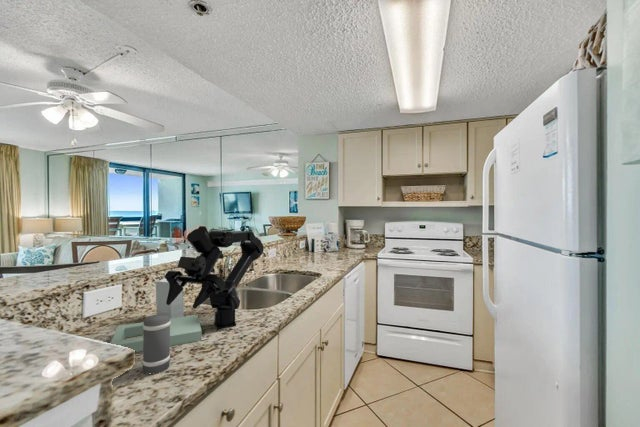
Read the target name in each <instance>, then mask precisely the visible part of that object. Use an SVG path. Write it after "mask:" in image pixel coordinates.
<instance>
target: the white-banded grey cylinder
mask: <svg viewBox="0 0 640 427" xmlns="http://www.w3.org/2000/svg"><path fill="white" fill-rule="evenodd" d="M143 322H144V323H143V329H144V333H143V335H142V337H143V351H142V353H143V354H142V355H143V356H142V372H144V373H143V374H145V373H151V374H150V375H154V374H153V373H157V374H160V373H163V372H165V371H167V370H168V369H169V368H170V363H171V362H170V359H171V353H170V351H171V350H170V349H171V348H170V347H171V346H170V323H171V320H170V315H167V314H158V315H157V314H152V315H150V316H147V317H145V318H143ZM159 372H160V373H159Z"/></svg>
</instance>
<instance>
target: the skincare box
mask: <svg viewBox="0 0 640 427" xmlns="http://www.w3.org/2000/svg"><path fill="white" fill-rule="evenodd" d="M182 288H183V290H182V291H181V293H180V294H179V295H178V296H177V297H176V298H175V300H174V301H173V302H172V303H171V304H170V305H167V304H166V301H167V297H168V292H169V282H168V281H167V279H166V278H162V279H160V280H156V281H155V304H156V315H158V314H167V315H170V318H177V317H184V316H185V314H184V313H185V306H184V287H182Z"/></svg>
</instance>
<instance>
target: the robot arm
mask: <svg viewBox="0 0 640 427" xmlns="http://www.w3.org/2000/svg"><path fill="white" fill-rule="evenodd" d="M186 240H187V241H188V243H189V244H190V245H191V247H192V248H193V249H194V251H196V252H197V253H199V255H198V256H197V255H196V257H191V256H180V257H179V261H178V263H177V268H178V269H180V268H181V269H183V270H184V271H183V272H184V273H185V274H186V275H184V274H183V272H182V271H181V270H168V271H166V273H165V275H164V276H163V277H164V279H167V281H168V282H169V292H168V297H167V301H166V304H167V305H170V304H171V303H172V302H173V301H174V300H175V298H176V297H177V296H178V295H179V294H180V293H181V291H182V290H183V291H184V287H185V286H186V285H187V284H198V285H201V289H200V291H199V293H198V295H197V296H196V298H195V300H194V302H193V305H192V309H194V310H195V309H197V308H198V307H199V306H200V305H202V304H203V303H205V302H206V301H207V300H208V299H209V301H210V306H211V309H215V311H214V316H213V318H214V319H213V323H214V325H215V326H216V328H217V329H224V328H229V327H235V326H237V323H236V310H238V309H239V307H240V304H241V303H240V302H241V300H240V299H239V297H238V296H237V295H238V290H237V289H238V286H239V284H240V283H241V281H242V279H243V278H244V276H245V275H246V273H247V271H248V269H249V268H250V266H251V264H252V263H253V262H254V261H256V260H258V259H259V258H260V257H261V256H262V254H263V253H264V245H263V243H262V240H261V239H260V238H259V237H257V235H255V234H254V232H253V231H251V230H241V231H227V230H225V231H224V230H211V231H208V228H207V227H206V226H204V225H199V226H198V228H196V229H194V230H192V231H191V232H189V233H187V235H186ZM236 243H239V244H240V245H239V247H240V249H241V256H240V257H239V259H238V260H237V262H236V263H235V265H234V266H233V267H232V270H231V271H230V273H229V274H228V276H227V277H226V279H225V280H224V279H223V278H222V276H221V275H220V274H218V273H217V274H216V273H214V272H215V271H216V269H215V266H216V263H217V262H218V260H219V259H220V260H222V259H224V254H223V250H221V249H220V248H229V247H230V246H233V244H236ZM182 287H183V288H182Z"/></svg>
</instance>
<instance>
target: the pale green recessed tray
mask: <svg viewBox="0 0 640 427" xmlns="http://www.w3.org/2000/svg"><path fill="white" fill-rule="evenodd" d="M170 320H171V323H170V347H172V346H178V345H183V344H189V343H194V342H199V341H202V340H203V339H202V338H203V336H202V333H203V332H202V328H201V327H202V326H201V324H200V319H199V316H198V314H193V315H192V314H191V315H186V316H185V315H184V317H177V318H170ZM143 323H144V321H143V322H138V323H137V322H136V323H128V324H122V325H117V327H116V330H115V331H114V334H113V337H112V339H111V341H110V343H111V344H116V345H121V346H124V347H128V348H131V349H133V350H135V351H136V352H135V353H139V352H140V353H141V352H143V333H144V329H143ZM138 336H139V337H138ZM129 337H132V338H129ZM126 338H127V339H126Z"/></svg>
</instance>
